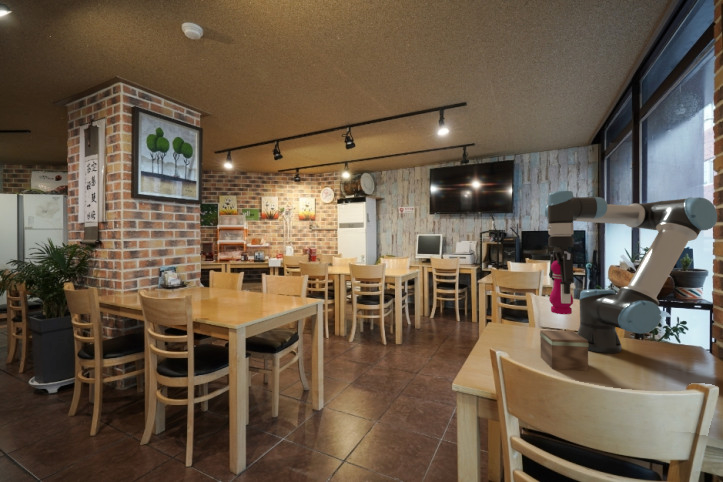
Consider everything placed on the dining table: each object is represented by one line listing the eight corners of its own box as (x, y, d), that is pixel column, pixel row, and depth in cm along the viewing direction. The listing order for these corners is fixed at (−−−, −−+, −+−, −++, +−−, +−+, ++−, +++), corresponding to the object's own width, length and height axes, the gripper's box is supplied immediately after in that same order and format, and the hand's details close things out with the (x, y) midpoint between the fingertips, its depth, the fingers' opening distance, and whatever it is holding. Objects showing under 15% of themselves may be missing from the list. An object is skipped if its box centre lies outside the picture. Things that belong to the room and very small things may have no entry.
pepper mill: (577, 315, 112) (576, 256, 112) (553, 314, 113) (552, 256, 113) (568, 310, 119) (568, 254, 119) (546, 309, 121) (545, 255, 120)
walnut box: (573, 358, 121) (573, 331, 120) (588, 370, 110) (588, 340, 109) (540, 356, 123) (540, 330, 122) (551, 368, 112) (551, 339, 111)
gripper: (539, 235, 126) (540, 295, 127) (560, 235, 107) (560, 306, 107) (561, 235, 125) (561, 296, 125) (586, 235, 105) (586, 307, 106)
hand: (561, 300), depth 116 cm, fingers closed on pepper mill, 7 cm apart
